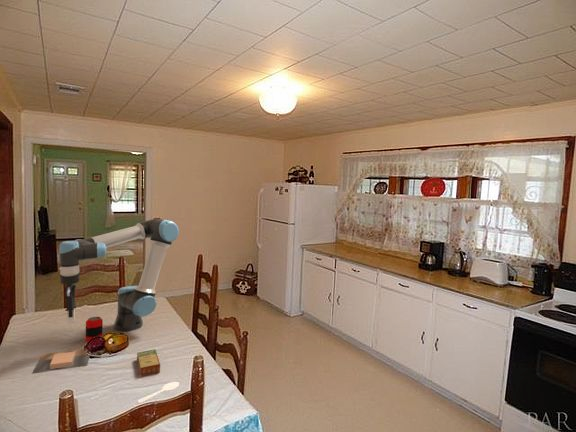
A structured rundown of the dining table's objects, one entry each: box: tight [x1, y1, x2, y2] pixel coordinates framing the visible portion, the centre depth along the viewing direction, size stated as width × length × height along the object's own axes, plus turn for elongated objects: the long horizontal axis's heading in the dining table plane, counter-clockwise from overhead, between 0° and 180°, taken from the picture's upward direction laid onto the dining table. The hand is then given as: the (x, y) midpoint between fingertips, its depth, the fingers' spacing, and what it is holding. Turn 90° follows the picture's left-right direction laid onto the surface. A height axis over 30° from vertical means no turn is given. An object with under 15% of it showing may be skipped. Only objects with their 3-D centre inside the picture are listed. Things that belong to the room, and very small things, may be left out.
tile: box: [50, 352, 75, 369], centre depth 152 cm, size 8×2×10 cm
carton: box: [136, 348, 161, 377], centre depth 155 cm, size 8×16×4 cm, turn 28°
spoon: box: [137, 381, 180, 404], centre depth 135 cm, size 5×18×1 cm, turn 144°
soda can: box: [85, 316, 104, 343], centre depth 176 cm, size 8×8×12 cm
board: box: [31, 348, 91, 375], centre depth 154 cm, size 20×18×1 cm
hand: (71, 322), depth 162 cm, fingers closed
